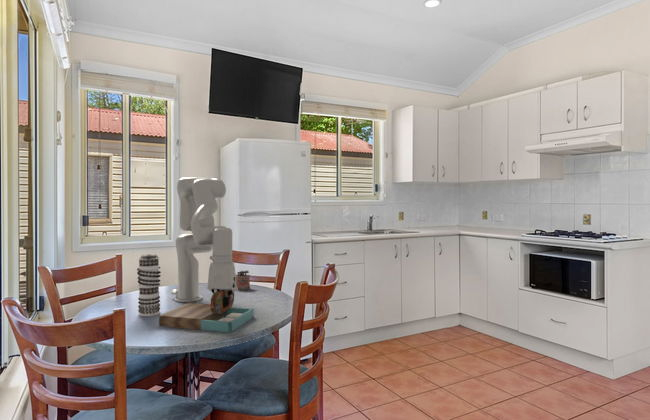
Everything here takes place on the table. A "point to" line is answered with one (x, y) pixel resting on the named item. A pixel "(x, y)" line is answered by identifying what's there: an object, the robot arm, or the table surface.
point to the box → (228, 326)
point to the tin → (220, 302)
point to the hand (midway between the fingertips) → (222, 305)
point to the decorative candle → (148, 285)
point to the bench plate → (188, 316)
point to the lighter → (243, 280)
